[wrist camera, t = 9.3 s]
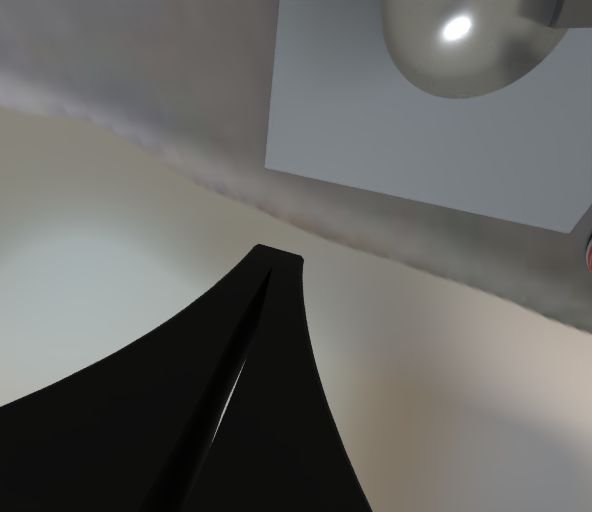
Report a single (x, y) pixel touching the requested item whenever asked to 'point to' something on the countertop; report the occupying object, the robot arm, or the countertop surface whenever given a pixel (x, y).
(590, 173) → the board
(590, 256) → the pill bottle
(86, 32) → the countertop surface
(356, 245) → the countertop surface
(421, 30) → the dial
